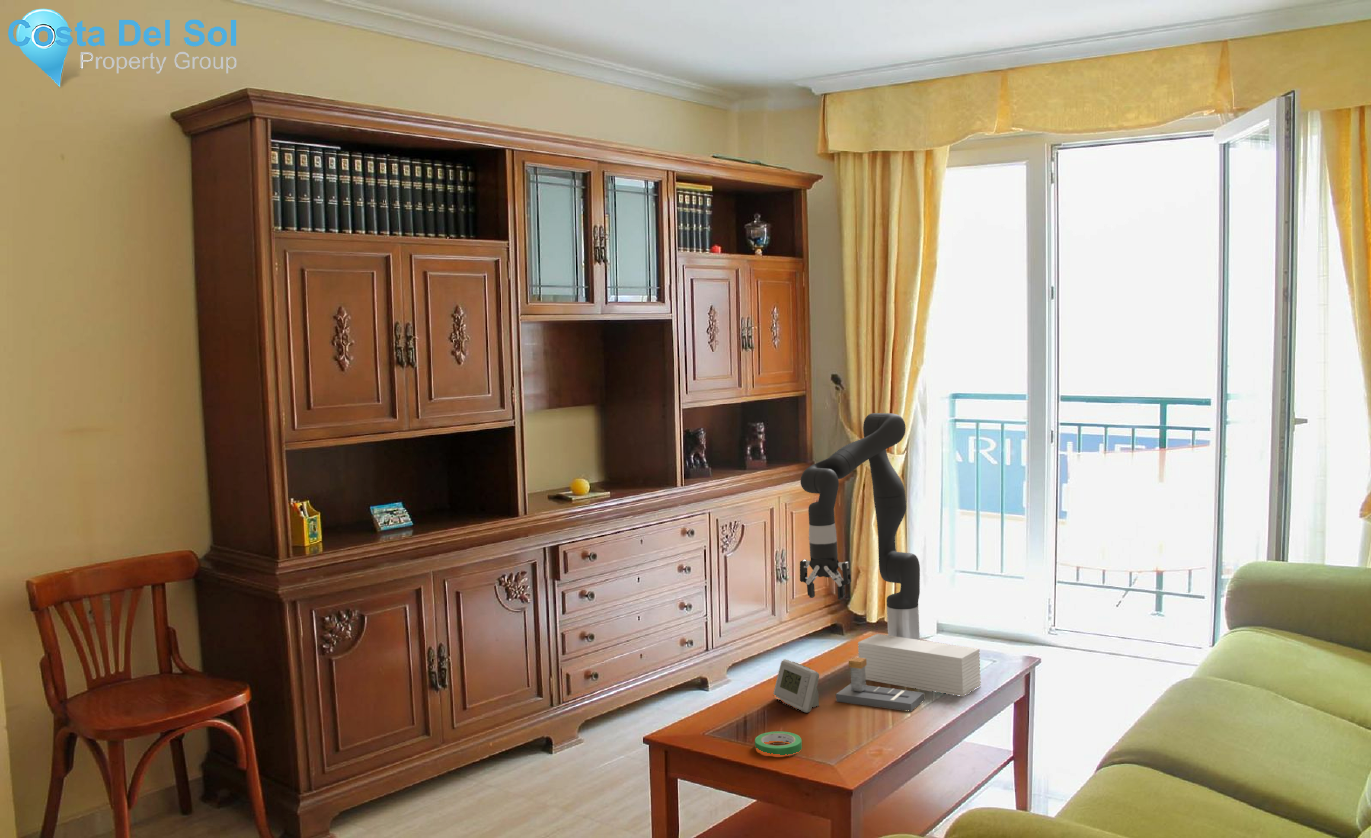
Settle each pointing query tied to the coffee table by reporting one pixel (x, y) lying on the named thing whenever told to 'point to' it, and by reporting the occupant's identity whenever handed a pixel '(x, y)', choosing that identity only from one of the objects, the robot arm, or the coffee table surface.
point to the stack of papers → (921, 664)
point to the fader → (858, 674)
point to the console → (881, 697)
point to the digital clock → (797, 686)
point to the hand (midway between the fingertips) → (826, 598)
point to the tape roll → (779, 736)
